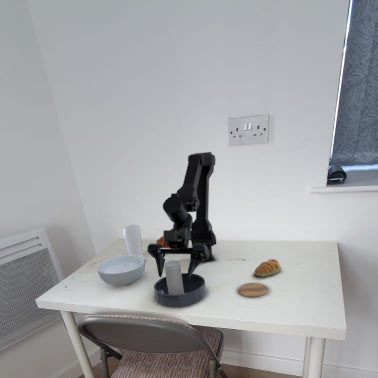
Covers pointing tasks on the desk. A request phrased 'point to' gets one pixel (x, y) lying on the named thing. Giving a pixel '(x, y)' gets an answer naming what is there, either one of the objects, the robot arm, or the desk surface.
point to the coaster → (253, 290)
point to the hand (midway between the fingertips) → (173, 277)
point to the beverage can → (174, 278)
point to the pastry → (268, 268)
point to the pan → (192, 294)
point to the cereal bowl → (121, 269)
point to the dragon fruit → (162, 243)
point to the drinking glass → (133, 239)
